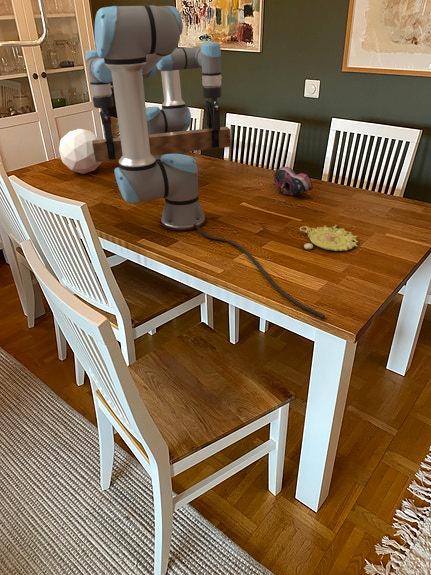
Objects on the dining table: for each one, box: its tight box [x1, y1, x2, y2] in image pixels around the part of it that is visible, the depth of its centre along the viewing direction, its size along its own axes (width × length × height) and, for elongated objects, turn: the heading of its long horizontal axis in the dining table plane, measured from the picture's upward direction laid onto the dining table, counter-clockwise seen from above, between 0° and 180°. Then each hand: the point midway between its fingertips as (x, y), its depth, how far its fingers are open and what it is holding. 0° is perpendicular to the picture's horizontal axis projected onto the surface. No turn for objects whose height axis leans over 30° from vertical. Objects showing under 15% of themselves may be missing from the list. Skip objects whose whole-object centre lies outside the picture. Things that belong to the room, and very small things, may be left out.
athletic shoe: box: [270, 166, 314, 197], centre depth 175 cm, size 11×22×12 cm
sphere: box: [58, 128, 103, 175], centre depth 202 cm, size 19×20×20 cm
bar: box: [92, 126, 232, 162], centre depth 183 cm, size 56×5×7 cm, turn 105°
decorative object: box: [299, 224, 359, 252], centre depth 141 cm, size 21×2×20 cm
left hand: (214, 145), depth 189 cm, fingers closed on bar, 5 cm apart
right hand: (111, 157), depth 180 cm, fingers closed on bar, 5 cm apart
